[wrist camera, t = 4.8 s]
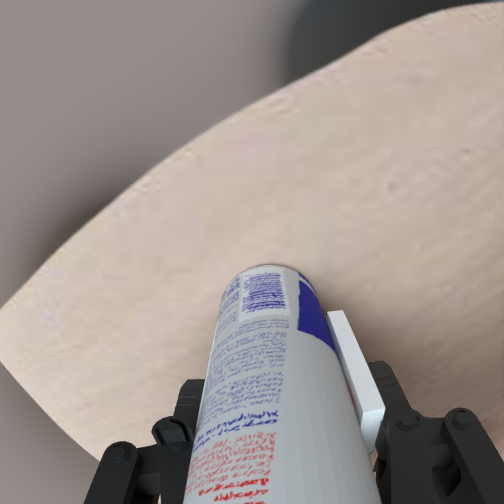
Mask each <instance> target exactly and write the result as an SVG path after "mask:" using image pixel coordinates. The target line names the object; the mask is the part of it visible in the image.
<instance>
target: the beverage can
mask: <svg viewBox="0 0 504 504" xmlns="http://www.w3.org/2000/svg"><path fill="white" fill-rule="evenodd" d="M217 322H218V324H217V323H216V324H217V329H216V328H215V329H216V334H215V333H214V334H215V339H214V338H213V339H214V344H213V343H212V344H213V349H212V354H211V359H210V364H209V370H208V375H207V380H206V385H205V390H204V396H203V401H202V406H201V411H200V417H199V422H198V427H196V430H195V435H194V438H195V441H194V445H193V450H192V456H191V462H190V467H189V473H188V478H187V484H186V490H185V496H184V501H183V504H382V502H381V498H380V494H379V491H378V487H377V483H376V480H375V476H374V473H373V469H372V466H371V462H370V459H369V455H368V452H367V448H366V445H365V442H364V438H363V435H362V432H361V428H360V425H359V422H358V418H357V415H356V412H355V409H354V406H353V402H352V399H351V396H350V393H349V390H348V387H347V384H346V381H345V378H344V375H343V371H342V368H341V365H340V362H339V359H338V356H337V353H336V350H335V348H334V345H333V342H332V339H331V336H330V333H329V330H328V327H327V324H326V321H325V319H324V316H323V313H322V310H321V307H320V304H319V302H318V299H317V296H316V293H315V291H314V289H313V287H312V285H311V284H310V283H309V282H308V280H307V279H306V278H305V277H303V276H302V275H301V274H299V273H298V272H296V271H294V270H292V269H290V268H287V267H283V266H277V265H263V266H257V267H254V268H251V269H248V270H246V271H244V272H243V273H241V274H239V275H238V276H237V277H235V278H234V279H233V280H232V281H231V282H230V284H229V285H228V286H227V288H226V289H225V291H224V293H223V296H222V299H221V304H220V309H219V314H218V318H217ZM207 369H208V368H207ZM206 374H207V373H206ZM205 379H206V378H205ZM204 384H205V383H204ZM203 389H204V388H203ZM202 394H203V393H202ZM201 399H202V398H201ZM200 404H201V403H200ZM199 410H200V409H199ZM198 415H199V414H198ZM197 420H198V419H197ZM196 425H197V424H196Z"/></svg>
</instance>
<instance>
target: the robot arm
mask: <svg viewBox="0 0 504 504" xmlns="http://www.w3.org/2000/svg"><path fill="white" fill-rule="evenodd" d="M217 324H218V322H217ZM217 324H216V329H217ZM327 327H328V330H329V333H330V336H331V339H332V342H333V345H334V348H335V350H336V353H337V356H338V359H339V362H340V365H341V368H342V371H343V375H344V378H345V381H346V384H347V387H348V390H349V393H350V396H351V399H352V402H353V406H354V409H355V412H356V415H357V418H358V422H359V425H360V428H361V432H362V435H363V438H364V442H365V445H366V448H367V452H368V454H372V453H373V452H374V448H375V446H376V449H377V452H378V457H377V460H376V463H375V465H374V469H373V472H376V483H377V487H378V491H379V494H380V498H381V502H382V504H435V497H434V487H433V483H434V485H435V488H436V490H437V493H438V495H439V498H440V500H441V503H442V504H504V462H503V460H502V458H501V456H500V455H499V453H498V451H497V450H496V448H495V446H494V444H493V443H492V441H491V439H490V438H489V436H488V435H487V433H486V431H485V430H484V428H483V426H482V425H481V423H480V422H479V420H478V418H477V417H476V415H475V414H474V413H473V412H472V411H470V410H468V409H466V408H455V409H453V410H451V411H449V412H448V414H447V415H446V416H445V418H427V417H423V416H422V415H421V414H420V413H419V412H418V411H415V410H413V409H412V408H411V407H410V405H409V403H408V401H407V399H406V397H405V395H404V393H403V391H402V389H401V387H400V384H398V381H397V379H396V377H395V375H394V373H393V371H392V369H391V367H390V366H389V365H388V364H386V363H385V362H384V361H376V362H370V363H366V361H365V358H364V356H363V354H362V352H361V349H360V347H359V345H358V343H357V340H356V338H355V336H354V334H353V331H352V329H351V327H350V325H349V323H348V320H347V318H346V316H345V314H344V312H343V310H339V311H330V312H327ZM216 329H215V334H216ZM215 334H214V339H215ZM214 339H213V344H214ZM213 344H212V348H211V353H210V358H209V363H208V369H207V374H206V379H188V380H187V381H186V382H185V383H184V385H183V386H182V387H181V389H180V393H179V396H178V397H179V398H178V400H177V406H176V407H175V411H174V415H173V416H169V417H165V418H162V419H161V420H159V421H157V422H156V423H155V425H154V426H153V428H152V432H151V433H152V435H153V437H154V439H155V440H156V442H157V444H155V445H152V446H147V447H141V448H136V447H135V446H134V445H133V444H132V443H129V442H126V441H120V442H116V443H113V444H111V445H110V446H109V447H107V449H106V450H105V452H104V454H103V456H102V459H101V461H100V464H99V466H98V469H97V471H96V474H95V476H94V478H93V481H92V483H91V486H90V489H89V491H88V493H87V496H86V499H85V501H84V504H158V500H159V496H161V504H183V501H184V496H185V490H186V484H187V478H188V473H189V467H190V462H191V456H192V450H193V445H194V441H195V438H194V435H195V430H196V427H198V422H199V417H200V411H201V406H202V401H203V396H204V390H205V385H206V380H207V375H208V370H209V364H210V359H211V354H212V349H213ZM204 383H205V384H204ZM203 388H204V389H203ZM202 393H203V394H202ZM201 398H202V399H201ZM200 403H201V404H200ZM199 409H200V410H199ZM198 414H199V415H198ZM197 419H198V420H197ZM196 424H197V425H196Z"/></svg>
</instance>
